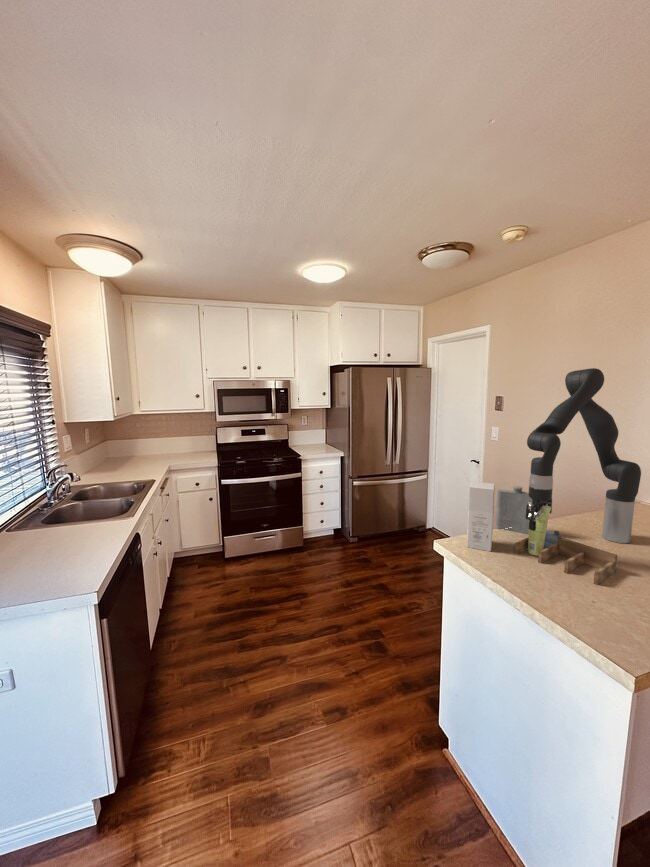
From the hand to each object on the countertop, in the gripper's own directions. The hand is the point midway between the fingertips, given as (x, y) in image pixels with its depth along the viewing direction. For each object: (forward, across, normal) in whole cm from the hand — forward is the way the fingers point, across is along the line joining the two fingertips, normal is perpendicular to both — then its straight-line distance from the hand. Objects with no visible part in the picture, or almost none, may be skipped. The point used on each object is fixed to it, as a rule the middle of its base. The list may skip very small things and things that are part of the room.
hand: (538, 527), depth 134 cm
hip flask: (+11, -15, -16) cm, 25 cm away
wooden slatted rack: (+11, -2, +8) cm, 14 cm away
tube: (+11, 0, 0) cm, 11 cm away
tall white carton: (+11, +11, -17) cm, 23 cm away
